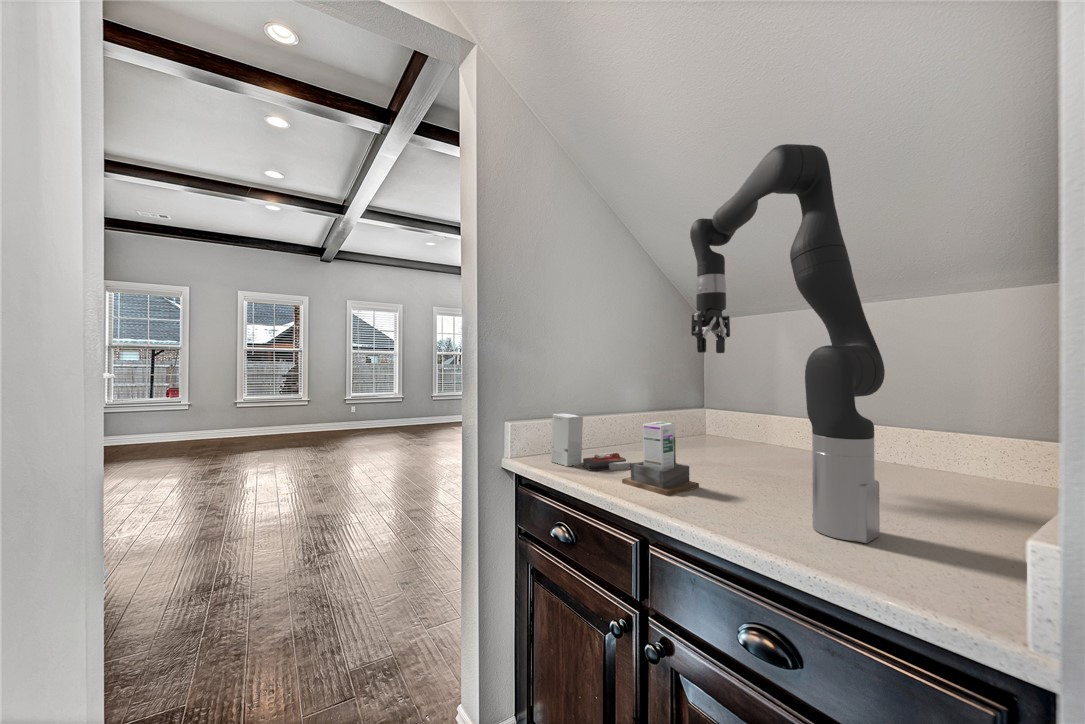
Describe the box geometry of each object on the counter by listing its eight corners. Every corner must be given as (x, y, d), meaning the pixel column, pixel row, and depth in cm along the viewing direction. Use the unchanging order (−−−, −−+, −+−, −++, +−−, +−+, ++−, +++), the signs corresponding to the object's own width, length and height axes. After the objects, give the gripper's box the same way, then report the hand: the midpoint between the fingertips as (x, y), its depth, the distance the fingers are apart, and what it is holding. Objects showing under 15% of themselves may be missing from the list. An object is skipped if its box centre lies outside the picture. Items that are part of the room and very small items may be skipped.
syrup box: (662, 485, 108) (662, 424, 108) (642, 480, 112) (642, 422, 112) (676, 481, 111) (676, 422, 111) (656, 477, 116) (656, 420, 116)
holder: (698, 487, 110) (698, 466, 110) (667, 495, 103) (667, 473, 103) (653, 475, 121) (653, 457, 121) (622, 482, 114) (622, 463, 114)
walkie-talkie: (593, 474, 124) (652, 468, 132) (593, 458, 124) (652, 453, 132) (578, 468, 132) (635, 462, 140) (578, 453, 132) (634, 448, 140)
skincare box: (550, 462, 138) (550, 414, 138) (565, 459, 142) (565, 412, 142) (568, 467, 132) (568, 416, 132) (583, 464, 135) (583, 415, 135)
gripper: (707, 288, 114) (708, 352, 114) (738, 293, 123) (738, 353, 123) (682, 292, 121) (683, 352, 120) (714, 297, 129) (714, 353, 129)
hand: (711, 352), depth 122 cm, fingers open, 8 cm apart
